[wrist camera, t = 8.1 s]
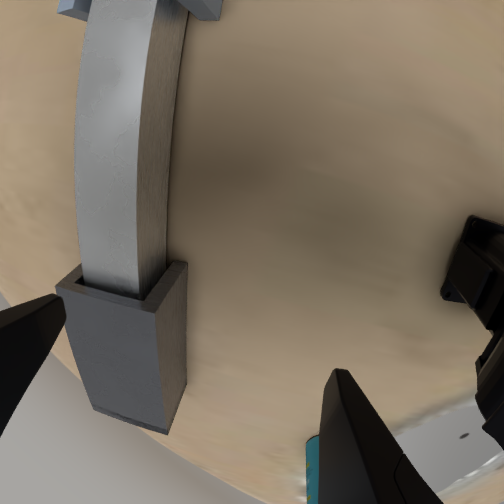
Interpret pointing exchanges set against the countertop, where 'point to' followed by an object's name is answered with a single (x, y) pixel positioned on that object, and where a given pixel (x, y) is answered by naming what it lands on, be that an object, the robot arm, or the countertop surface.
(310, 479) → the tube
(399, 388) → the countertop surface
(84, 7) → the blue-grey u-shaped block
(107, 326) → the sleeve
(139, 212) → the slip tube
